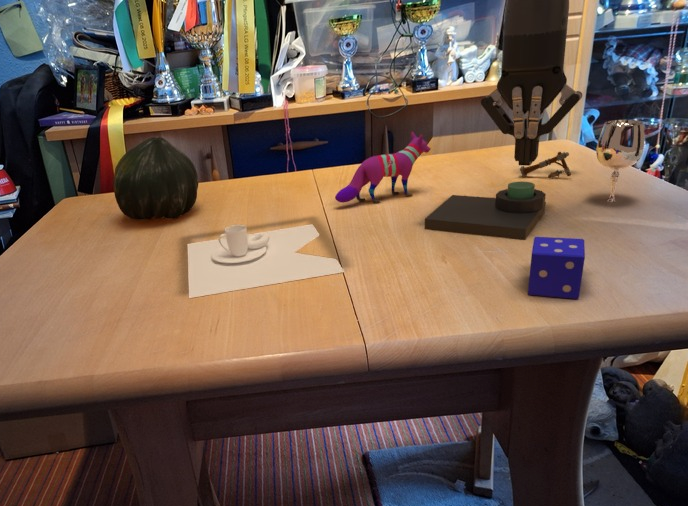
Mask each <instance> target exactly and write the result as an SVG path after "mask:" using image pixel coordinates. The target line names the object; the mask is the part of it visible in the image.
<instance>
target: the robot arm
mask: <svg viewBox="0 0 688 506" xmlns="http://www.w3.org/2000/svg"><path fill="white" fill-rule="evenodd" d="M569 12H570V0H506V1H505V7H504V13H503V14H504V15H503V22H502V52H501V74H500V77H499V80H498V81H497V83H496V88H495V90H493V91H492V92H491V93H489V94H488V95H485V96H484V97H483V98H482V99H481V100H480V105H481V106H482V108H483V110H485V112H486V113H487V114H488V116H489V117H490V118H491V120H492V121H493V123H494V124H495V125H496V127H497V128H498V129H499V131H500V132H501V133H502V134H503V135H510V136H512V137H513V138H514V140H515V141H514V161H515V162H518V166H524V167H529V166H532V164H533V162H535V161H536V160H537V158H538V156H539V149H540V138H541V136H544V135H548V134H550V133H551V132H552V131H553V130H554V129H555V128H556V127H557V126H558V124H559V123H560V122H561V121H562V120H563V119H564V118H565V117H566V116H567V115H568V114H569V112H570V111H572V109H573V108H574V107H575V106H576V105H577V104H578V103H579V101H581V100H582V99H583V93H582V91H580V90H575V89H573V88H572V87H571V86H569V85H568V84H567V81H568V80H567V76H566V74H565V70H564V69H565V68H564V66H565V57H566V45H567V37H568V36H567V34H568V24H569ZM560 94H561V95H560ZM559 95H560V98H559V100H558V103H559V105H561V106H560V107H559V108H558V109H557V110H556V112H554V113H553V115H552V116H551V117H550V118H549V119H548V120H547V121H546V122H544V123H543V119H544V116H545V111H546V109H547V108H549V107H550V106H551V104H552V103H553V102H554V101H555V100H556V98H557V97H558V96H559ZM503 101H504V102H505V103H506V105H507V106H508V108H509V109H510V110H511V111H512V119H511V117H510V116H509V115H508V113H507V112H506V111H505V109H504V108H503V107H502V106H501V105H502V103H503Z"/></svg>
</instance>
